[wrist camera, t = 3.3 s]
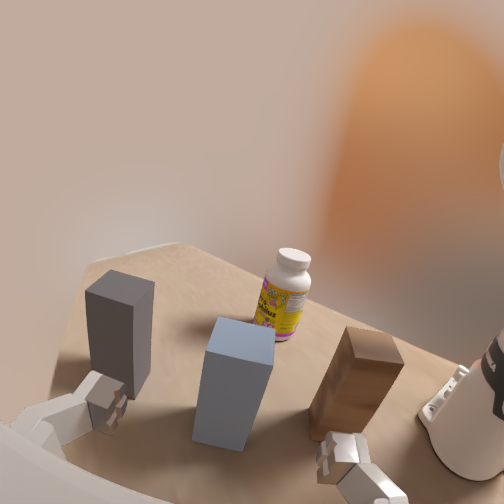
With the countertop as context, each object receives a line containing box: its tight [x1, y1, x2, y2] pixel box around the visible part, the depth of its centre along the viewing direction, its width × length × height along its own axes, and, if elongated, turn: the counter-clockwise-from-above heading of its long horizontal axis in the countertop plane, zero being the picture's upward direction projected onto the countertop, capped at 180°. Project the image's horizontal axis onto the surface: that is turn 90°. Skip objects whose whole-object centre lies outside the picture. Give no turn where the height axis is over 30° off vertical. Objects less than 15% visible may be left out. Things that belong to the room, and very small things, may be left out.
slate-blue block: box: [192, 316, 276, 452], centre depth 26 cm, size 5×5×12 cm
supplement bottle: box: [253, 248, 311, 341], centre depth 46 cm, size 7×7×13 cm
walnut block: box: [309, 326, 404, 441], centre depth 29 cm, size 5×5×12 cm
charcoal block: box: [85, 270, 155, 400], centre depth 29 cm, size 5×5×12 cm
